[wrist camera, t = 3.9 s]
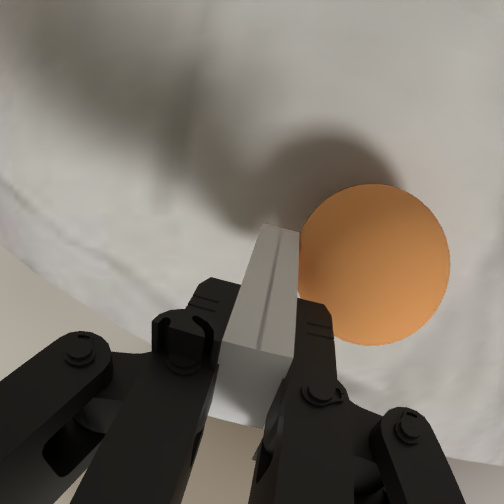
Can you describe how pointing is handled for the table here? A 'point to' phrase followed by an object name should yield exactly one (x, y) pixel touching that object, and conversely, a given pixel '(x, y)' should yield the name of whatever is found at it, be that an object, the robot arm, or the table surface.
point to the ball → (374, 263)
